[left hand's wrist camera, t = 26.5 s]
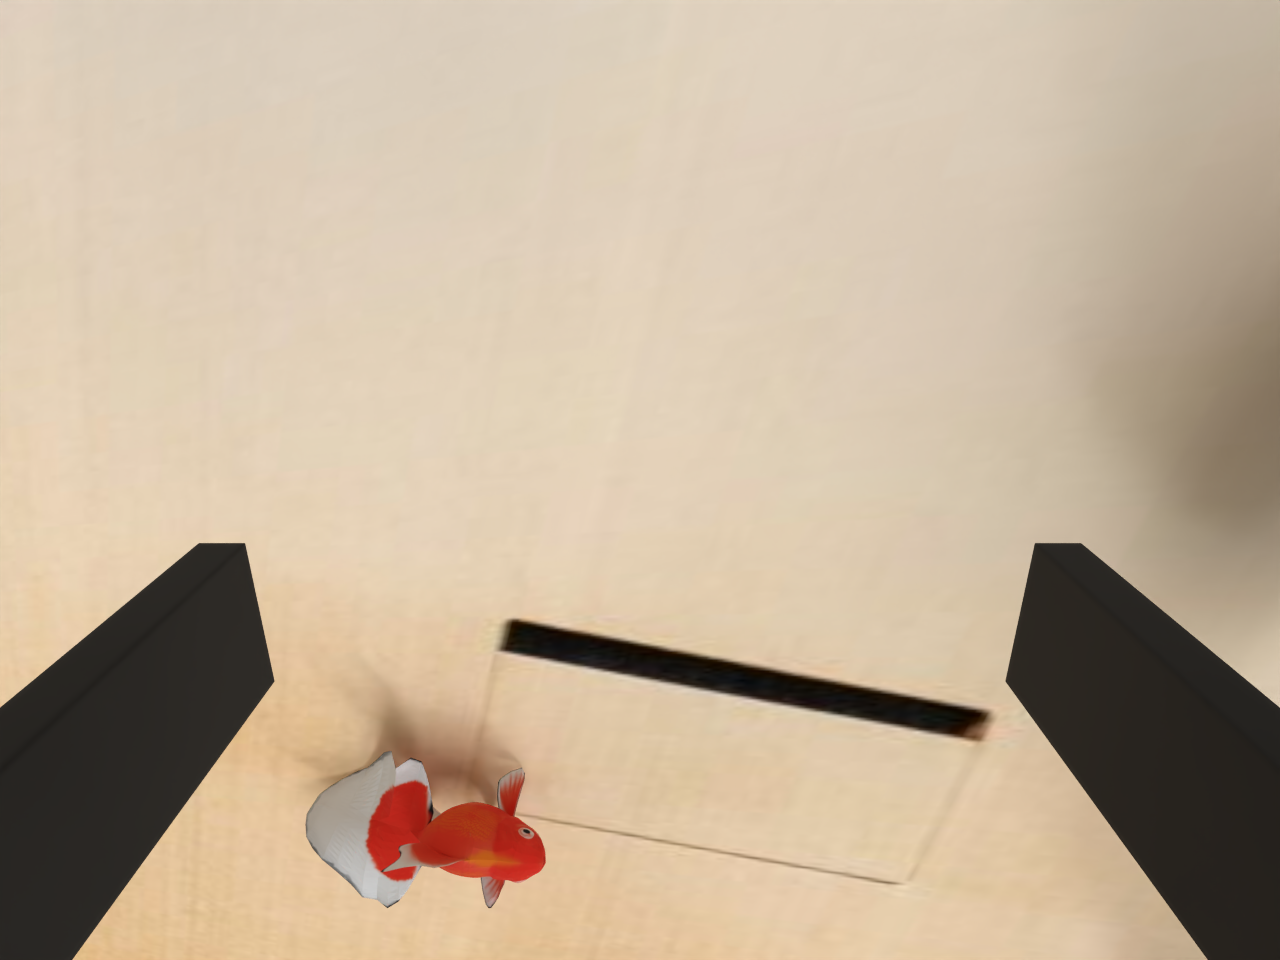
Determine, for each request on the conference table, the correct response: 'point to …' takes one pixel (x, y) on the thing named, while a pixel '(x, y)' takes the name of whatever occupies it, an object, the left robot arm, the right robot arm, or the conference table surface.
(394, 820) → the fish
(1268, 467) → the conference table surface
